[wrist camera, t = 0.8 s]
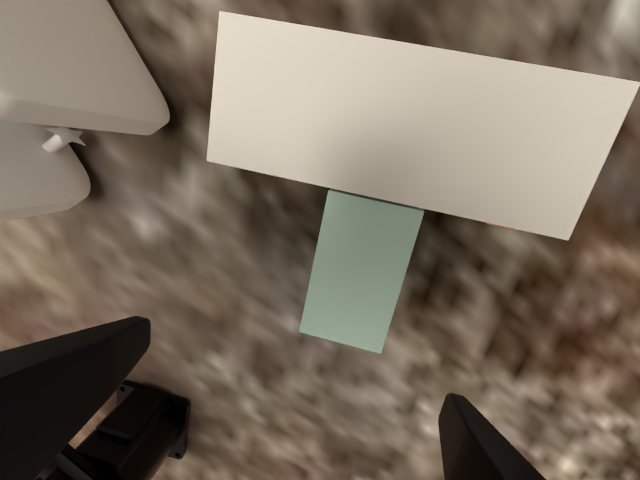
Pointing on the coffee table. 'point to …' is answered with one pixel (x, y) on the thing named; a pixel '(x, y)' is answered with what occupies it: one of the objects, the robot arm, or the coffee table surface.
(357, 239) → the charger
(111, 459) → the robot arm
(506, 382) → the coffee table surface
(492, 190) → the bar
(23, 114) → the cable organizer
